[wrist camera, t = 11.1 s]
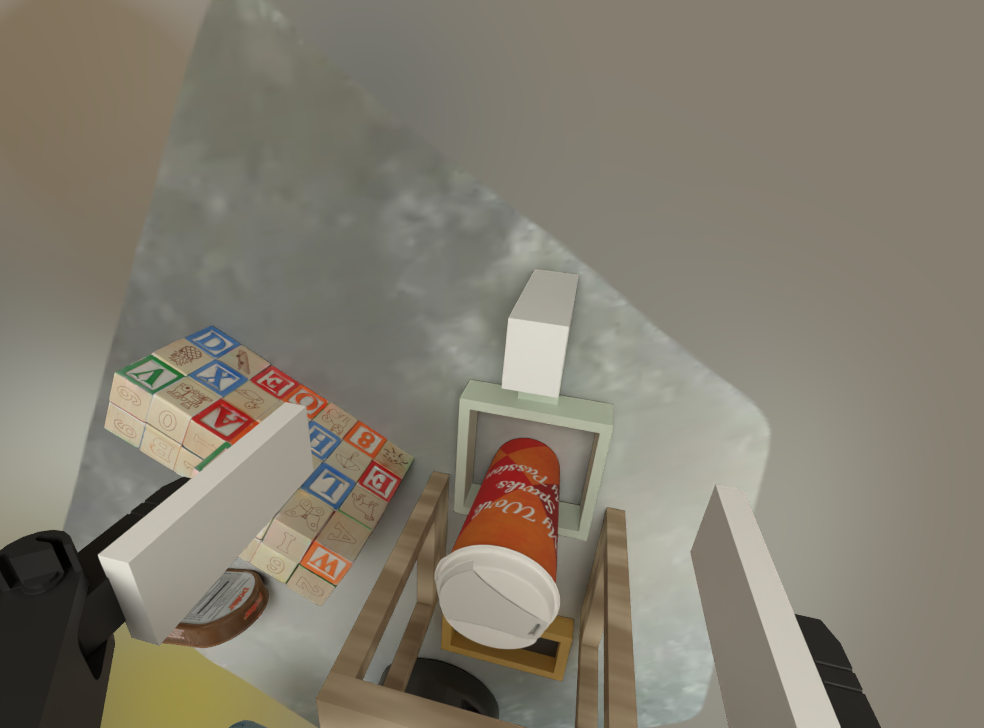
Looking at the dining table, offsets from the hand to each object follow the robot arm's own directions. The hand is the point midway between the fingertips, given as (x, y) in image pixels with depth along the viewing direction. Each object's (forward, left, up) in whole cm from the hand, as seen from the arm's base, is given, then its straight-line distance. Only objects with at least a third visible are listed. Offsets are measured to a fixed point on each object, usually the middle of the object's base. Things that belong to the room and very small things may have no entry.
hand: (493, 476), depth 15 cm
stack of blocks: (-15, +21, -21) cm, 33 cm away
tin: (-40, +34, -21) cm, 56 cm away
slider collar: (-9, 0, -20) cm, 22 cm away
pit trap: (-36, 0, -20) cm, 42 cm away
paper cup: (-15, 0, -20) cm, 25 cm away
